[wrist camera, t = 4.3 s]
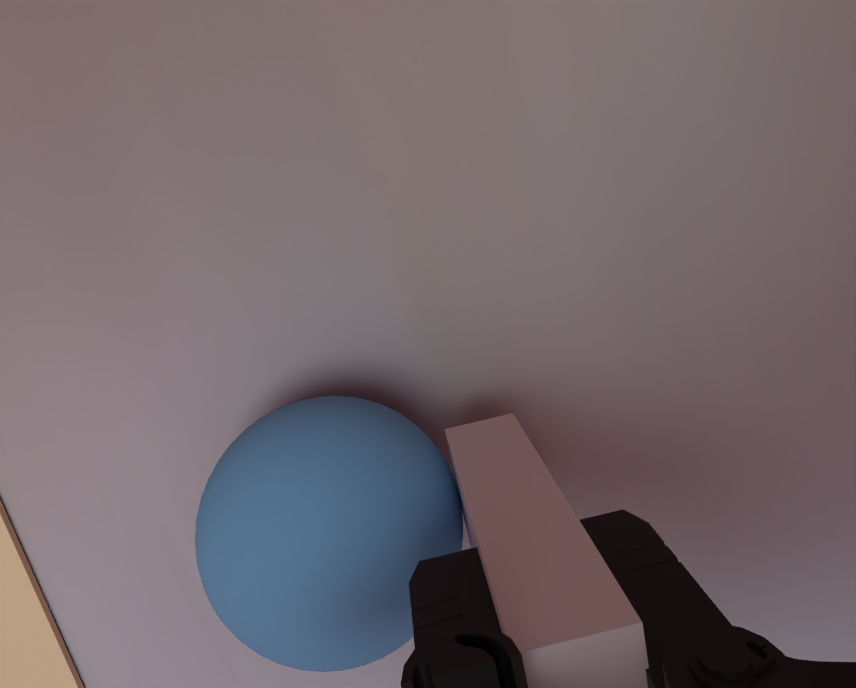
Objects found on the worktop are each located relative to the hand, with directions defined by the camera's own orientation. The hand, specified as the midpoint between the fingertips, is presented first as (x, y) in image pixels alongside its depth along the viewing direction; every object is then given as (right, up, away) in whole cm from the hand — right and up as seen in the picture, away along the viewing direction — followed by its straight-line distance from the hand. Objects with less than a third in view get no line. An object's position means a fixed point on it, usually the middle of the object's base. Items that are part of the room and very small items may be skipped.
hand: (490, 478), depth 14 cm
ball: (-3, -1, 0) cm, 4 cm away
